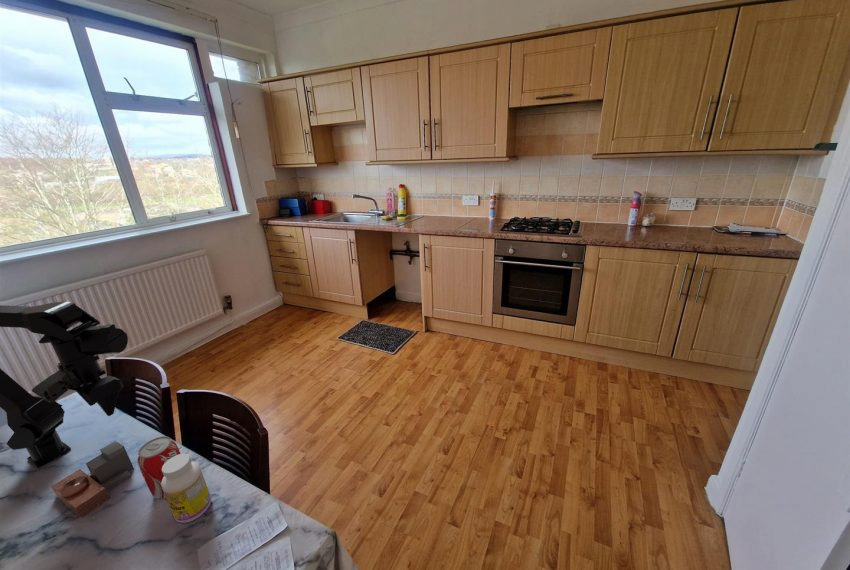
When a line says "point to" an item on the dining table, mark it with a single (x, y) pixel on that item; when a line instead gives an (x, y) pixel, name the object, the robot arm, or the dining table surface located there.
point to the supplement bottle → (185, 488)
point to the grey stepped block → (109, 463)
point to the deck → (86, 491)
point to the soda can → (156, 462)
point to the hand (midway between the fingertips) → (101, 409)
